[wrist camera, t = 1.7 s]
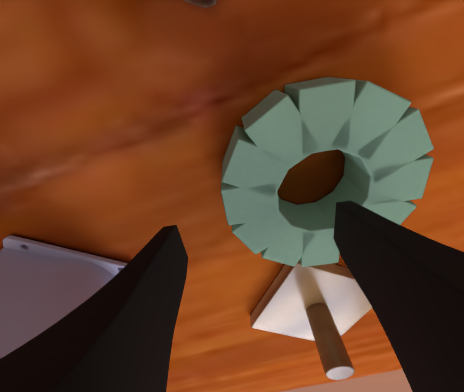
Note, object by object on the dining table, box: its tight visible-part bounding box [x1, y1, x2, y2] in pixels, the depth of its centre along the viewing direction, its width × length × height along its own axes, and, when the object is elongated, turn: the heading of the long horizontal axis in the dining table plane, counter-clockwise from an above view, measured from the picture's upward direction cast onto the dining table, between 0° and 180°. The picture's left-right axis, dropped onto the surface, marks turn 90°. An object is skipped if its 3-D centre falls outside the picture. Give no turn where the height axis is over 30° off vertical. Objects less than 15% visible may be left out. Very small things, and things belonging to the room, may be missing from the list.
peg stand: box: [250, 261, 372, 380], centre depth 18 cm, size 9×9×6 cm
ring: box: [221, 77, 434, 267], centre depth 13 cm, size 11×11×3 cm
